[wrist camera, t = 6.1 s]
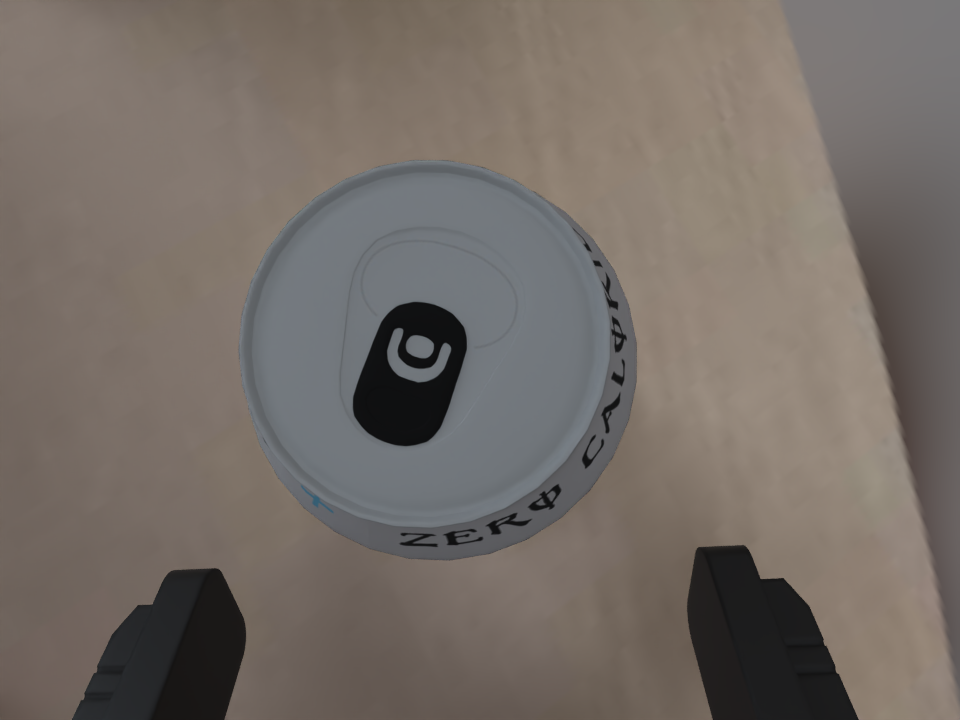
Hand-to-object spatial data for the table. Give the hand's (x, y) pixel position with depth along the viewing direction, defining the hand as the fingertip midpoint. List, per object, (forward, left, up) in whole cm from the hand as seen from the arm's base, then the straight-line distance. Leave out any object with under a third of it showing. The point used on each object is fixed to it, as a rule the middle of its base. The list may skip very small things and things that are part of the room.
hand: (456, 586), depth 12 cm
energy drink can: (-3, +2, -12) cm, 12 cm away
